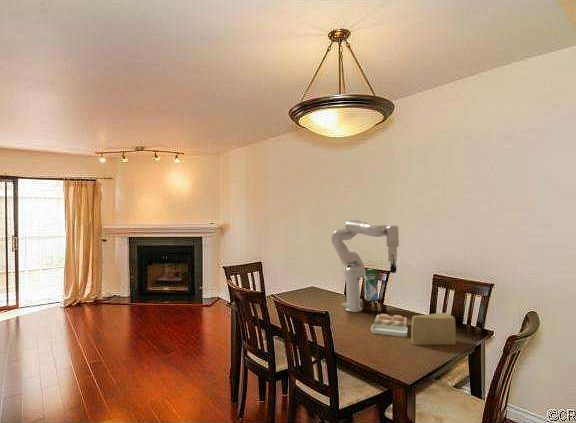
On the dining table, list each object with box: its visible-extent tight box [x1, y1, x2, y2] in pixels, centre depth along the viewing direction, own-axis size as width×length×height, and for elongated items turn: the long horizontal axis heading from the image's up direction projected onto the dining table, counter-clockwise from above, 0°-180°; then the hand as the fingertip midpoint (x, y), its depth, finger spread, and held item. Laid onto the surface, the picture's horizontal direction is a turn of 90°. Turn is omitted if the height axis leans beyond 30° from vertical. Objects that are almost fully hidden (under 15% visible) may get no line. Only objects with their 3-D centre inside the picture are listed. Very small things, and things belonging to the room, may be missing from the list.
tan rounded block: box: [410, 312, 457, 346], centre depth 176 cm, size 22×10×15 cm, turn 96°
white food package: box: [374, 314, 408, 327], centre depth 204 cm, size 18×12×4 cm, turn 67°
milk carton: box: [363, 268, 379, 302], centre depth 267 cm, size 9×9×25 cm
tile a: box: [379, 313, 389, 320], centre depth 205 cm, size 4×4×2 cm
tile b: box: [393, 314, 403, 321], centre depth 202 cm, size 4×4×2 cm
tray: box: [370, 323, 409, 338], centre depth 193 cm, size 20×10×2 cm, turn 67°
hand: (393, 271), depth 217 cm, fingers open, 5 cm apart
